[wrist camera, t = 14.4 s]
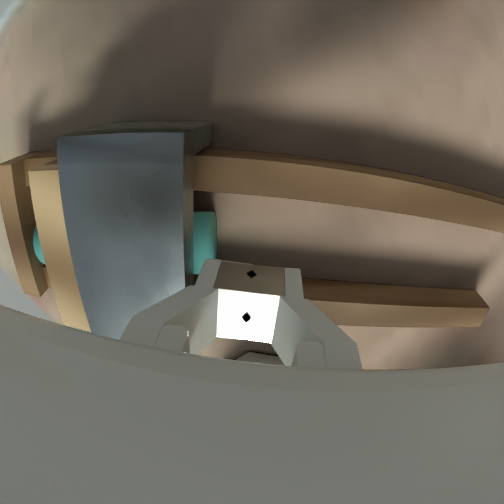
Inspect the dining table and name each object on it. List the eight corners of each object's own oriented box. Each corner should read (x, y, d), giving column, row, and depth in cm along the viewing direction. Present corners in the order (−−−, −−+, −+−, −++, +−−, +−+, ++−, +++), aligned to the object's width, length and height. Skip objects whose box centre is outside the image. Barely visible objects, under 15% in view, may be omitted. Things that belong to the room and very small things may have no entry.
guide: (28, 152, 14) (-27, 175, 10) (508, 200, 14) (556, 233, 9) (48, 268, 18) (9, 308, 14) (467, 308, 17) (497, 354, 13)
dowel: (67, 225, 17) (57, 270, 16) (41, 205, 14) (28, 255, 13) (219, 226, 17) (214, 281, 16) (210, 200, 14) (204, 265, 13)
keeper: (113, 122, 13) (55, 137, 9) (212, 121, 13) (183, 132, 9) (130, 300, 18) (98, 354, 14) (207, 310, 18) (191, 372, 14)
